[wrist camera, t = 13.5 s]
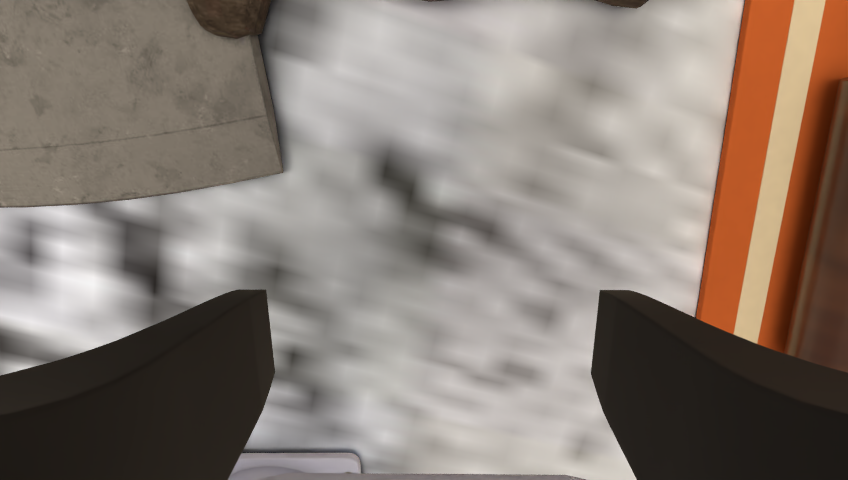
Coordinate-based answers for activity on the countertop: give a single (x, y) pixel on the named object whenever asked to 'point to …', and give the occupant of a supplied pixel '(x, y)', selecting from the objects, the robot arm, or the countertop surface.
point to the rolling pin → (826, 257)
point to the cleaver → (134, 98)
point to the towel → (771, 164)
